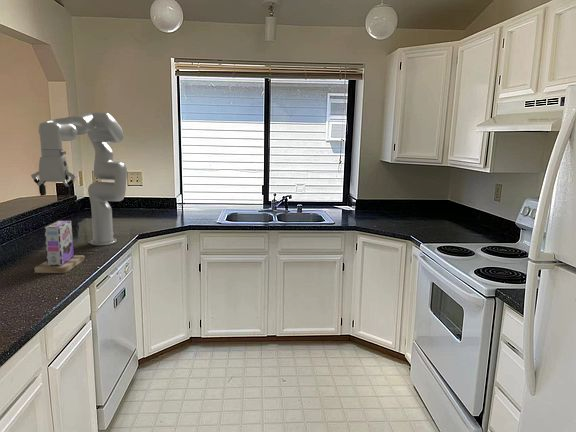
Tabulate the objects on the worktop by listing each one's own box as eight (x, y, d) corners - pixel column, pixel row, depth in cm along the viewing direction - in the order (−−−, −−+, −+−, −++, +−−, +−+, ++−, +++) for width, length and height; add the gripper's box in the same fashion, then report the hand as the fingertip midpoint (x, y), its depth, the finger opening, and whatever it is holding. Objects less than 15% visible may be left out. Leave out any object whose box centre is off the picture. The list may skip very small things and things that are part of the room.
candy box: (62, 266, 168) (59, 227, 165) (46, 266, 167) (43, 227, 164) (74, 256, 181) (72, 220, 178) (60, 256, 181) (57, 220, 178)
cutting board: (57, 259, 183) (56, 255, 183) (84, 259, 184) (84, 255, 183) (34, 272, 165) (34, 267, 165) (65, 272, 166) (65, 268, 166)
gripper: (78, 153, 170) (80, 194, 173) (35, 152, 169) (38, 193, 172) (69, 154, 163) (72, 197, 166) (24, 153, 162) (28, 196, 165)
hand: (55, 195), depth 169 cm, fingers open, 9 cm apart
